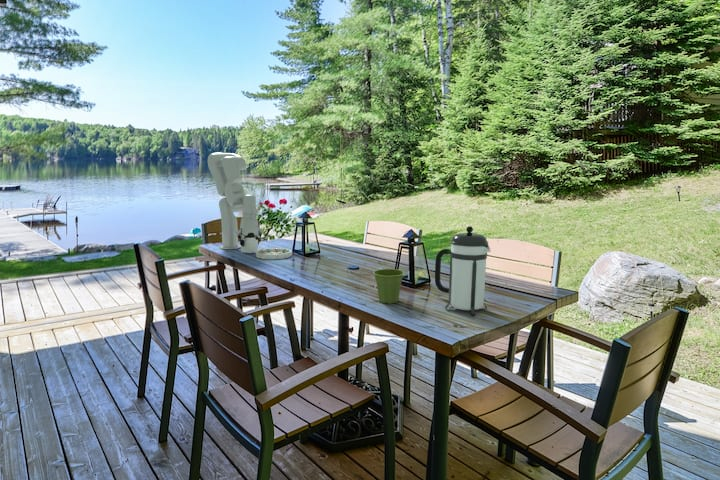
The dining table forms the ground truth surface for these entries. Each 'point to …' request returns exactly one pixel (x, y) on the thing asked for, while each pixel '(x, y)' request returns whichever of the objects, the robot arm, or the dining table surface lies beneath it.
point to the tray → (273, 253)
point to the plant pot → (388, 284)
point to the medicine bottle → (250, 244)
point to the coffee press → (465, 271)
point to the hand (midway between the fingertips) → (249, 245)
